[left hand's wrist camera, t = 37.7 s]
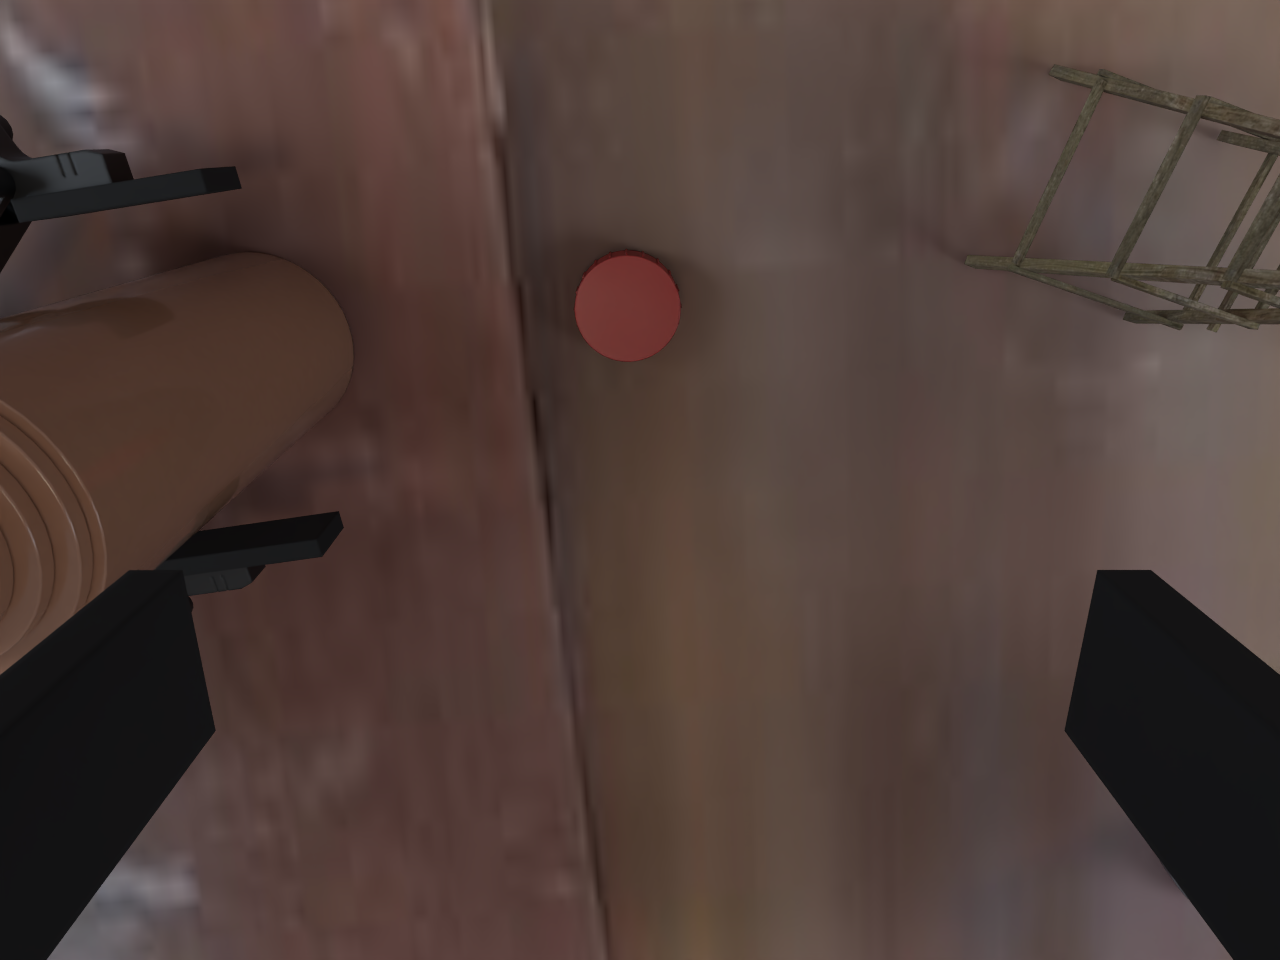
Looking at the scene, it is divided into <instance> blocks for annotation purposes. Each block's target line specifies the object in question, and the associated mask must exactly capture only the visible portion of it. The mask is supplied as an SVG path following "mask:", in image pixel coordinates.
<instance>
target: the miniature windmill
mask: <svg viewBox="0 0 1280 960" xmlns="http://www.w3.org/2000/svg"><path fill="white" fill-rule="evenodd" d="M1049 75H1051V76H1053V77H1055V78H1057V79H1059V80H1061V81H1065V82H1069V83H1073V84H1076V85H1080V86H1084V87H1087V88H1091V89H1092V90H1091V93H1090V95H1089V97H1088V99H1087V101H1086V103H1085V105H1084V107H1083V110H1082V112H1081V114H1080V116H1079V118H1078V120H1077V122H1076V125H1075V127H1074V129H1073V131H1072V133H1071V135H1070V137H1069V140H1068V142H1067V144H1066V146H1065V148H1064V150H1063V152H1062V154H1061V157H1060V159H1059V161H1058V163H1057V165H1056V167H1055V169H1054V172H1053V174H1052V176H1051V178H1050V180H1049V182H1048V184H1047V187H1046V189H1045V191H1044V193H1043V195H1042V197H1041V199H1040V201H1039V204H1038V206H1037V208H1036V210H1035V212H1034V214H1033V216H1032V219H1031V221H1030V223H1029V225H1028V227H1027V229H1026V231H1025V234H1024V236H1023V238H1022V240H1021V242H1020V244H1019V246H1018V249H1017V251H1016V253H1015V255H1014V257H997V256H976V255H968V256H967V259H966V261H965V264H966V265H968V266H971V267H973V268H976V269H990V270H1005V271H1011V272H1014V273H1017V274H1019V275H1022V276H1025V277H1028V278H1031V279H1034V280H1037V281H1040V282H1042V283H1045V284H1048V285H1051V286H1054V287H1057V288H1060V289H1062V290H1065V291H1068V292H1071V293H1074V294H1077V295H1080V296H1083V297H1085V298H1088V299H1091V300H1094V301H1097V302H1100V303H1103V304H1106V305H1108V306H1111V307H1114V308H1117V309H1120V310H1123V311H1126V313H1125V316H1124V318H1123V320H1126V321H1129V322H1133V323H1157V324H1163V325H1166V326H1169V327H1172V328H1175V329H1177V330H1181V329H1182V327H1183V325H1184V324H1209V326H1208V328H1207V329H1208V330H1211V331H1214V332H1217V331H1218V329H1219V327H1220V325H1221V324H1237V325H1239V326H1242V327H1245V328H1248V329H1257V330H1258V328H1259V326H1260V324H1280V297H1277V296H1275V295H1276V294H1277V292H1278V290H1280V265H1279V267H1278V268H1277V270H1261V269H1253V267H1254V265H1255V264H1256V262H1257V260H1258V258H1259V257H1260V255H1261V253H1262V251H1263V250H1264V248H1265V246H1266V244H1267V243H1268V241H1269V239H1270V237H1271V235H1272V234H1273V232H1274V230H1275V228H1276V227H1277V225H1278V223H1279V221H1280V174H1279V176H1278V178H1277V180H1276V182H1275V183H1274V185H1273V187H1272V189H1271V191H1270V192H1269V194H1268V196H1267V198H1266V200H1265V201H1264V203H1263V205H1262V207H1261V209H1260V210H1259V212H1258V214H1257V216H1256V218H1255V219H1254V221H1253V223H1252V225H1251V227H1250V228H1249V230H1248V232H1247V234H1246V235H1245V237H1244V239H1243V241H1242V243H1241V244H1240V246H1239V248H1238V250H1237V252H1236V253H1235V255H1234V257H1233V259H1232V261H1231V262H1230V264H1229V266H1228V268H1220V267H1217V265H1218V264H1219V262H1220V260H1221V258H1222V256H1223V255H1224V253H1225V251H1226V249H1227V247H1228V246H1229V244H1230V242H1231V240H1232V238H1233V237H1234V235H1235V233H1236V231H1237V229H1238V227H1239V226H1240V224H1241V222H1242V220H1243V218H1244V217H1245V215H1246V213H1247V211H1248V209H1249V208H1250V206H1251V204H1252V202H1253V200H1254V199H1255V197H1256V195H1257V193H1258V191H1259V189H1260V188H1261V186H1262V184H1263V182H1264V180H1265V179H1266V177H1267V175H1268V173H1269V171H1270V170H1271V168H1272V166H1273V164H1274V162H1275V161H1276V159H1277V157H1278V155H1279V156H1280V120H1279V119H1274V118H1270V117H1266V116H1262V115H1258V114H1255V113H1252V112H1249V111H1247V110H1244V109H1242V108H1239V107H1237V106H1234V105H1231V104H1229V103H1226V102H1224V101H1221V100H1218V99H1216V98H1213V97H1209V96H1196V98H1195V99H1193V98H1189V97H1185V96H1181V95H1177V94H1173V93H1169V92H1165V91H1160V90H1156V89H1154V88H1151V87H1149V86H1146V85H1143V84H1141V83H1138V82H1136V81H1133V80H1130V79H1128V78H1125V77H1123V76H1120V75H1117V74H1115V73H1112V72H1110V71H1107V70H1104V69H1099V71H1098V73H1097V75H1095V74H1091V73H1087V72H1083V71H1079V70H1075V69H1071V68H1067V67H1063V66H1059V65H1055V64H1054V66H1053V68H1052V70H1051V71H1050V73H1049ZM1103 92H1106V93H1110V94H1113V95H1117V96H1121V97H1124V98H1128V99H1132V100H1136V101H1139V102H1143V103H1147V104H1150V105H1154V106H1158V107H1161V108H1165V109H1169V110H1173V111H1176V112H1180V113H1184V114H1187V115H1186V117H1185V119H1184V121H1183V123H1182V125H1181V127H1180V129H1179V131H1178V133H1177V135H1176V137H1175V139H1174V141H1173V143H1172V145H1171V147H1170V149H1169V151H1168V153H1167V155H1166V156H1165V158H1164V160H1163V162H1162V164H1161V166H1160V168H1159V170H1158V172H1157V174H1156V176H1155V178H1154V180H1153V182H1152V184H1151V186H1150V188H1149V190H1148V192H1147V194H1146V196H1145V198H1144V200H1143V202H1142V204H1141V206H1140V208H1139V210H1138V212H1137V213H1136V215H1135V217H1134V219H1133V221H1132V223H1131V225H1130V227H1129V229H1128V231H1127V233H1126V235H1125V237H1124V239H1123V241H1122V243H1121V245H1120V247H1119V249H1118V251H1117V253H1116V255H1115V257H1114V259H1113V261H1112V262H1098V261H1078V260H1058V259H1037V258H1025V256H1026V254H1027V252H1028V250H1029V247H1030V245H1031V243H1032V241H1033V239H1034V237H1035V235H1036V233H1037V231H1038V228H1039V226H1040V224H1041V222H1042V220H1043V218H1044V216H1045V214H1046V211H1047V209H1048V207H1049V205H1050V203H1051V201H1052V199H1053V197H1054V195H1055V192H1056V190H1057V188H1058V186H1059V184H1060V182H1061V180H1062V178H1063V176H1064V173H1065V171H1066V169H1067V167H1068V165H1069V163H1070V161H1071V159H1072V156H1073V154H1074V152H1075V150H1076V148H1077V146H1078V144H1079V142H1080V140H1081V137H1082V135H1083V133H1084V131H1085V129H1086V127H1087V125H1088V123H1089V120H1090V118H1091V116H1092V114H1093V112H1094V110H1095V108H1096V106H1097V104H1098V101H1099V99H1100V97H1101V95H1102V93H1103ZM1200 118H1202V119H1206V120H1210V121H1213V122H1217V123H1221V124H1225V125H1228V126H1231V127H1234V128H1237V129H1239V130H1242V131H1244V132H1247V133H1250V134H1252V135H1255V136H1257V137H1260V138H1257V137H1252V136H1248V135H1243V134H1238V133H1233V132H1229V131H1224V130H1222V131H1221V133H1220V135H1219V137H1218V138H1217V140H1219V141H1223V142H1226V143H1230V144H1234V145H1238V146H1242V147H1246V148H1250V149H1254V150H1259V151H1263V152H1267V153H1268V155H1267V157H1266V158H1265V160H1264V162H1263V164H1262V166H1261V168H1260V169H1259V171H1258V173H1257V175H1256V177H1255V179H1254V180H1253V182H1252V184H1251V186H1250V188H1249V189H1248V191H1247V193H1246V195H1245V197H1244V199H1243V200H1242V202H1241V204H1240V206H1239V208H1238V210H1237V211H1236V213H1235V215H1234V217H1233V219H1232V220H1231V222H1230V224H1229V226H1228V228H1227V230H1226V231H1225V233H1224V235H1223V237H1222V239H1221V241H1220V242H1219V244H1218V246H1217V248H1216V250H1215V251H1214V253H1213V255H1212V257H1211V259H1210V261H1209V262H1208V264H1207V266H1206V267H1200V266H1179V265H1159V264H1139V263H1126V261H1127V259H1128V257H1129V255H1130V253H1131V252H1132V250H1133V248H1134V246H1135V244H1136V242H1137V240H1138V238H1139V236H1140V234H1141V232H1142V230H1143V228H1144V226H1145V224H1146V222H1147V220H1148V219H1149V217H1150V215H1151V213H1152V211H1153V209H1154V207H1155V205H1156V203H1157V201H1158V199H1159V197H1160V195H1161V193H1162V191H1163V189H1164V187H1165V185H1166V184H1167V182H1168V180H1169V178H1170V176H1171V174H1172V172H1173V170H1174V168H1175V166H1176V164H1177V162H1178V160H1179V158H1180V156H1181V154H1182V152H1183V150H1184V149H1185V147H1186V145H1187V143H1188V141H1189V139H1190V137H1191V135H1192V133H1193V131H1194V129H1195V127H1196V125H1197V123H1198V121H1199V119H1200ZM1262 138H1263V139H1262ZM1038 273H1048V274H1062V275H1077V276H1091V277H1105V278H1111V280H1112V281H1114V282H1117V283H1120V284H1123V285H1126V286H1129V287H1132V288H1134V289H1137V290H1140V291H1143V292H1146V293H1149V294H1151V295H1154V296H1157V297H1160V298H1163V299H1166V300H1168V301H1171V302H1174V303H1177V304H1180V305H1183V306H1184V308H1183V310H1156V311H1144V310H1141V309H1138V308H1135V307H1132V306H1129V305H1126V304H1124V303H1121V302H1118V301H1115V300H1112V299H1109V298H1106V297H1103V296H1101V295H1098V294H1095V293H1092V292H1089V291H1086V290H1083V289H1081V288H1078V287H1075V286H1072V285H1069V284H1066V283H1063V282H1061V281H1058V280H1055V279H1052V278H1049V277H1046V276H1043V275H1041V274H1038ZM1137 280H1148V281H1163V282H1177V283H1191V284H1196V286H1195V288H1194V290H1193V292H1192V293H1191V295H1190V297H1189V299H1188V298H1185V297H1183V296H1180V295H1177V294H1174V293H1171V292H1168V291H1166V290H1163V289H1160V288H1157V287H1154V286H1151V285H1149V284H1146V283H1143V282H1140V281H1137ZM1206 285H1220V286H1221V288H1223V289H1226V290H1228V292H1227V294H1226V296H1225V297H1224V299H1223V301H1222V303H1221V305H1220V306H1219V308H1218V309H1216V308H1214V307H1211V306H1208V305H1205V304H1202V303H1200V302H1198V300H1199V298H1200V296H1201V294H1202V293H1203V291H1204V289H1205V287H1206ZM1255 288H1263V289H1266V290H1265V291H1264V292H1263V291H1260V290H1258V289H1255ZM1238 294H1240V295H1243V296H1246V297H1249V298H1251V299H1254V300H1257V301H1259V302H1258V304H1257V306H1256V307H1255V309H1230V308H1231V306H1232V304H1233V302H1234V301H1235V299H1236V297H1237V295H1238ZM1270 305H1271V306H1274V307H1277V308H1275V309H1268V308H1269V306H1270ZM1193 309H1194V310H1193Z"/></svg>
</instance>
